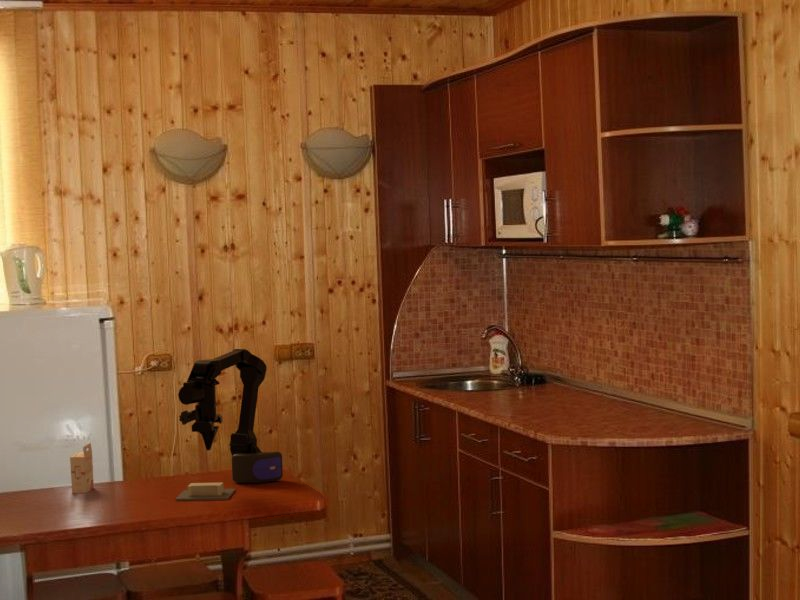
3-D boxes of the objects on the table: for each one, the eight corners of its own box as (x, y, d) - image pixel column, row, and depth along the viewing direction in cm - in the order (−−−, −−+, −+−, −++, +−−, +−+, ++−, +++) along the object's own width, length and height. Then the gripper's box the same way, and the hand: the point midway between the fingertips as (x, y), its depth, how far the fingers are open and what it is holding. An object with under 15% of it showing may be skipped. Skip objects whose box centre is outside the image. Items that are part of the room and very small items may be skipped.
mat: (184, 491, 372) (184, 489, 372) (235, 490, 372) (235, 488, 372) (175, 500, 359) (175, 498, 359) (227, 499, 359) (227, 497, 359)
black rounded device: (232, 485, 380) (231, 456, 379) (232, 481, 384) (231, 453, 383) (283, 482, 382) (282, 453, 381) (282, 478, 387) (281, 450, 386)
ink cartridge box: (78, 488, 383) (76, 442, 382) (94, 487, 383) (92, 442, 382) (71, 493, 375) (68, 447, 374) (86, 493, 374) (84, 447, 374)
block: (191, 482, 368) (187, 486, 363) (223, 482, 367) (220, 485, 362) (191, 492, 368) (188, 496, 363) (223, 492, 367) (220, 495, 362)
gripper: (187, 397, 380) (189, 445, 381) (174, 405, 362) (176, 456, 362) (222, 396, 380) (223, 444, 381) (210, 404, 361) (212, 455, 362)
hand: (208, 450), depth 371 cm, fingers closed
